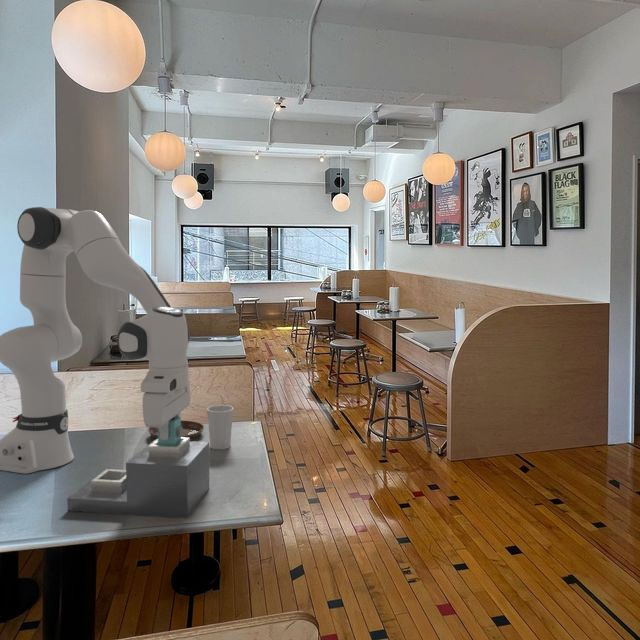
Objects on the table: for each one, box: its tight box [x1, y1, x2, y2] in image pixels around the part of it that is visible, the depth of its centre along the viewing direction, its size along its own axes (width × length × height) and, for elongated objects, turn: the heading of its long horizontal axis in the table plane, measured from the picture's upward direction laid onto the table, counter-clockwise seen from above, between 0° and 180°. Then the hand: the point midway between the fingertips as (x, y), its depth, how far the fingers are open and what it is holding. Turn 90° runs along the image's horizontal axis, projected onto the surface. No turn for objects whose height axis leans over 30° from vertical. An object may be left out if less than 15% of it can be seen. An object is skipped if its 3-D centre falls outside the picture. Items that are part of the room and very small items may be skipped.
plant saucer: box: [147, 420, 205, 441], centre depth 174 cm, size 18×18×3 cm
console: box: [66, 437, 210, 519], centre depth 126 cm, size 28×16×14 cm, turn 85°
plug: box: [158, 416, 183, 446], centre depth 124 cm, size 5×4×10 cm
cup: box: [206, 404, 234, 450], centre depth 164 cm, size 8×8×12 cm
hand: (169, 435), depth 125 cm, fingers closed on plug, 4 cm apart
